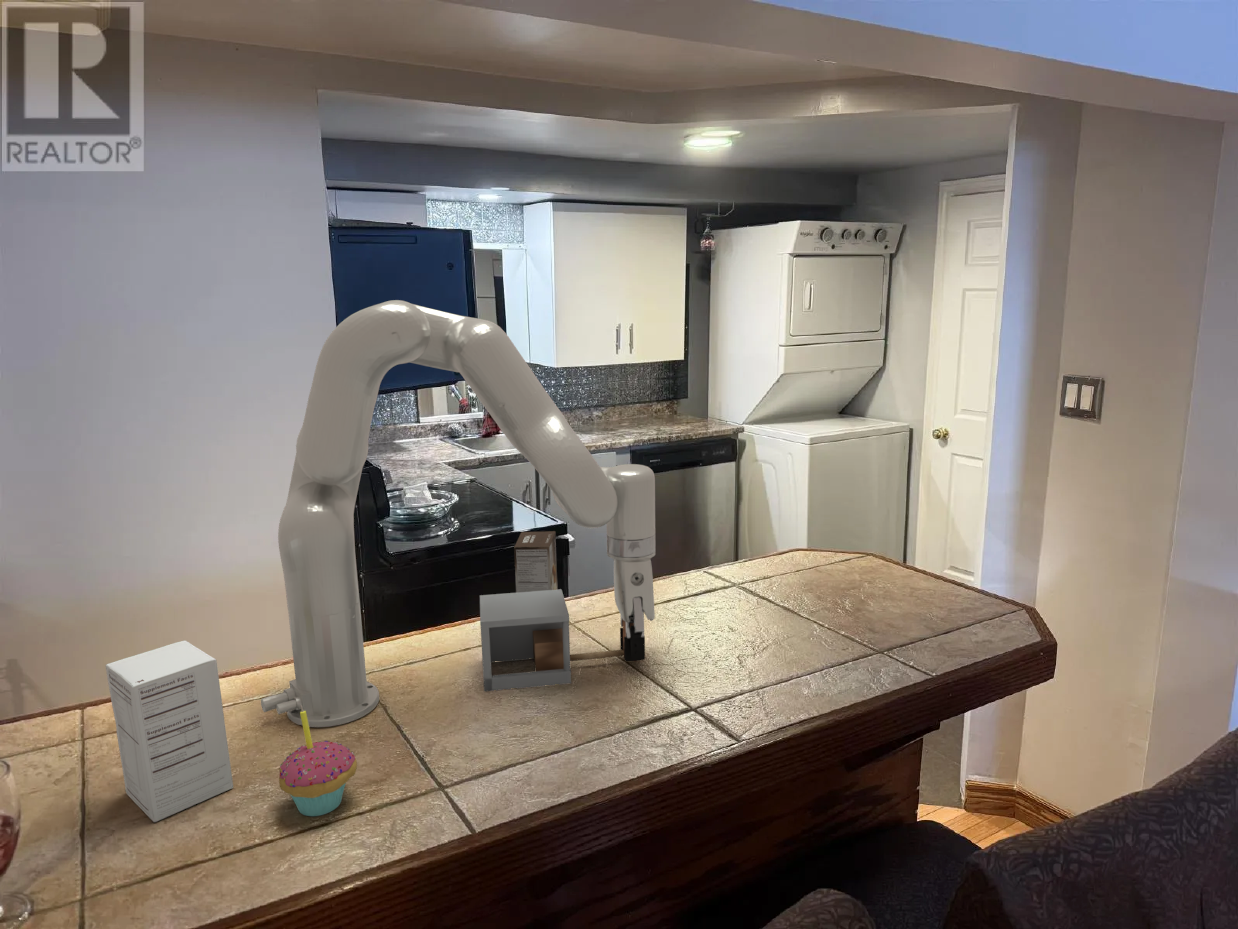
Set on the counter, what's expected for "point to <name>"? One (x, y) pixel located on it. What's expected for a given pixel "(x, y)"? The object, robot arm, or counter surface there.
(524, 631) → the grey open storage bin
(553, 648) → the block
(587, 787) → the counter surface
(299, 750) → the cupcake
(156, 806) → the supplement box
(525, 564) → the coffee box
